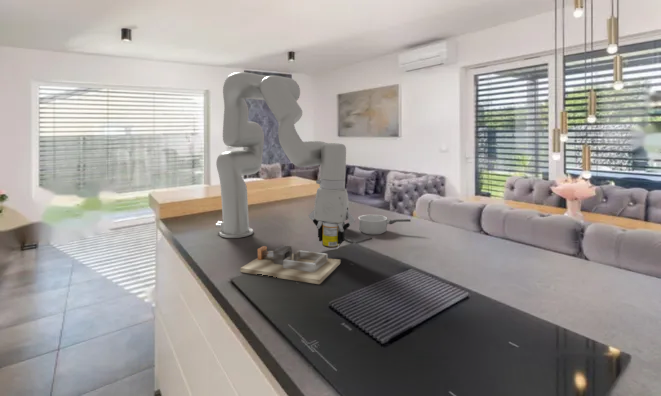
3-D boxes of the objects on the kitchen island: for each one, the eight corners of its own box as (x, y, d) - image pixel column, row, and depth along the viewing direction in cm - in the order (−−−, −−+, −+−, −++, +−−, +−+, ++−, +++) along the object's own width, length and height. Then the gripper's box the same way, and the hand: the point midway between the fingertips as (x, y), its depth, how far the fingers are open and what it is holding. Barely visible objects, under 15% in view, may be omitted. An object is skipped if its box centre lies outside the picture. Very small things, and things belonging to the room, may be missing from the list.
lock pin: (257, 259, 109) (257, 249, 109) (263, 256, 112) (263, 245, 112) (281, 262, 106) (281, 252, 106) (286, 259, 109) (286, 248, 109)
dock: (240, 271, 103) (239, 254, 102) (269, 254, 118) (269, 239, 117) (319, 284, 95) (319, 265, 94) (340, 263, 109) (340, 247, 108)
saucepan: (410, 237, 135) (410, 223, 134) (356, 235, 139) (356, 220, 138) (410, 229, 146) (410, 216, 145) (360, 227, 150) (360, 213, 149)
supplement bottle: (329, 243, 119) (330, 212, 117) (343, 247, 116) (344, 215, 114) (318, 247, 115) (319, 215, 113) (332, 251, 111) (332, 219, 109)
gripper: (301, 183, 111) (301, 241, 114) (356, 188, 105) (353, 249, 109) (311, 180, 118) (310, 234, 121) (363, 185, 112) (360, 241, 115)
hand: (331, 240), depth 115 cm, fingers closed on supplement bottle, 5 cm apart
